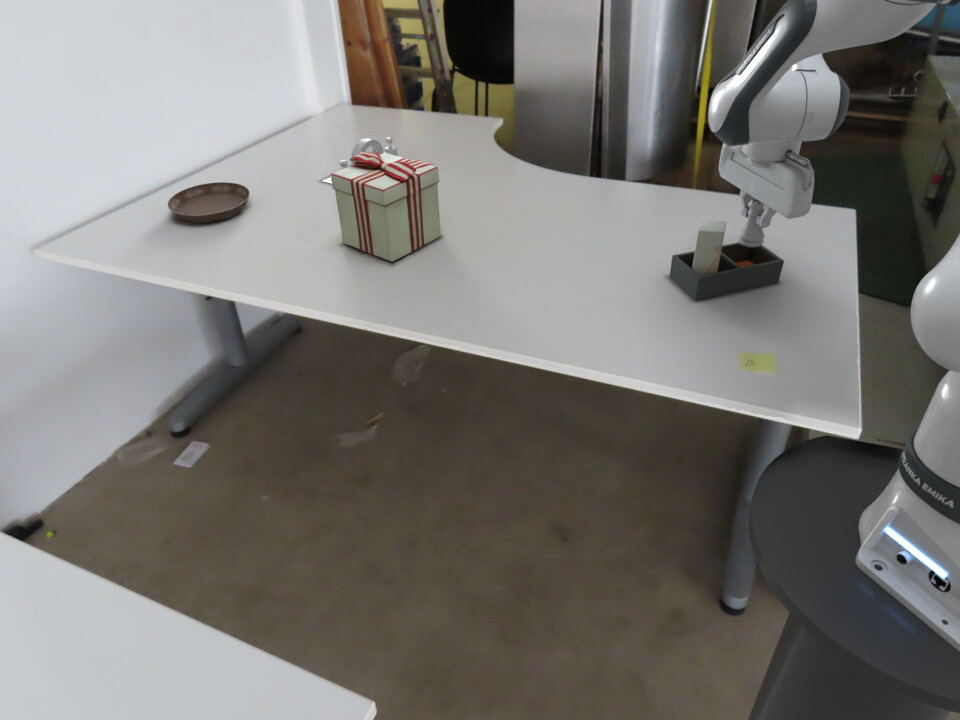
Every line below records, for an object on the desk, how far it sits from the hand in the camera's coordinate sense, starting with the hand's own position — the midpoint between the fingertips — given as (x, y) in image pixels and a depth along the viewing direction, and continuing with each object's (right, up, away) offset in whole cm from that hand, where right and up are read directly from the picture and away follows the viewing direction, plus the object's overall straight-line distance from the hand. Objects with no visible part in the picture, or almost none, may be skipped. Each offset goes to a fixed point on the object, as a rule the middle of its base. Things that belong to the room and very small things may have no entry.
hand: (754, 220), depth 120 cm
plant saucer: (-108, +10, +39) cm, 115 cm away
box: (-8, -10, +4) cm, 13 cm away
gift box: (-65, +1, +24) cm, 69 cm away
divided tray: (-3, -9, +6) cm, 12 cm away
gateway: (-74, +22, +53) cm, 94 cm away
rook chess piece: (0, -3, +2) cm, 4 cm away
